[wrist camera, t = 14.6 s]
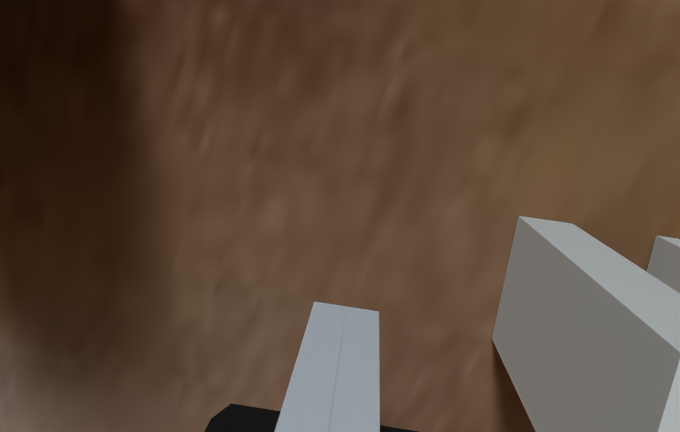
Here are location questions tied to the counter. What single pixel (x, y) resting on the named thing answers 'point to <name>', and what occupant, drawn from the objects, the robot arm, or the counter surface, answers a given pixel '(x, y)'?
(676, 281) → the ivory domino
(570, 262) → the ivory domino
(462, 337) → the counter surface
